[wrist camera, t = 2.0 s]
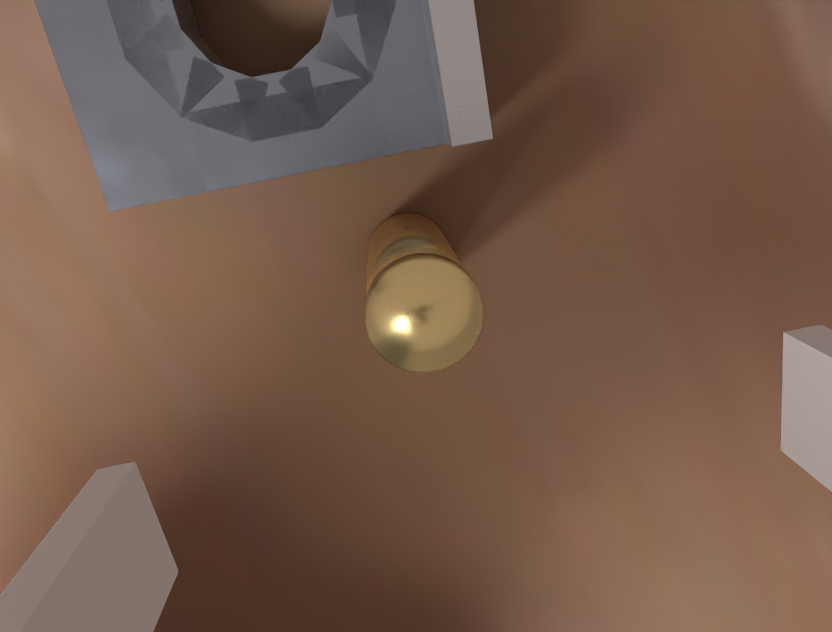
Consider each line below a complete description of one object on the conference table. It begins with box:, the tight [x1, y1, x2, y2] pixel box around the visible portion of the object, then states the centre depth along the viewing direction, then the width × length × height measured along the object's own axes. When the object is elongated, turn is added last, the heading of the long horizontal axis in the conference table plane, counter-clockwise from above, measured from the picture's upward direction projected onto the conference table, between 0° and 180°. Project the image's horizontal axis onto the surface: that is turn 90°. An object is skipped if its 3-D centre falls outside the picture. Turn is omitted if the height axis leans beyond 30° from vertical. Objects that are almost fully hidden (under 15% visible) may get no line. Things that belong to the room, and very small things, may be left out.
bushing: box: [364, 213, 484, 372], centre depth 25 cm, size 4×4×10 cm
